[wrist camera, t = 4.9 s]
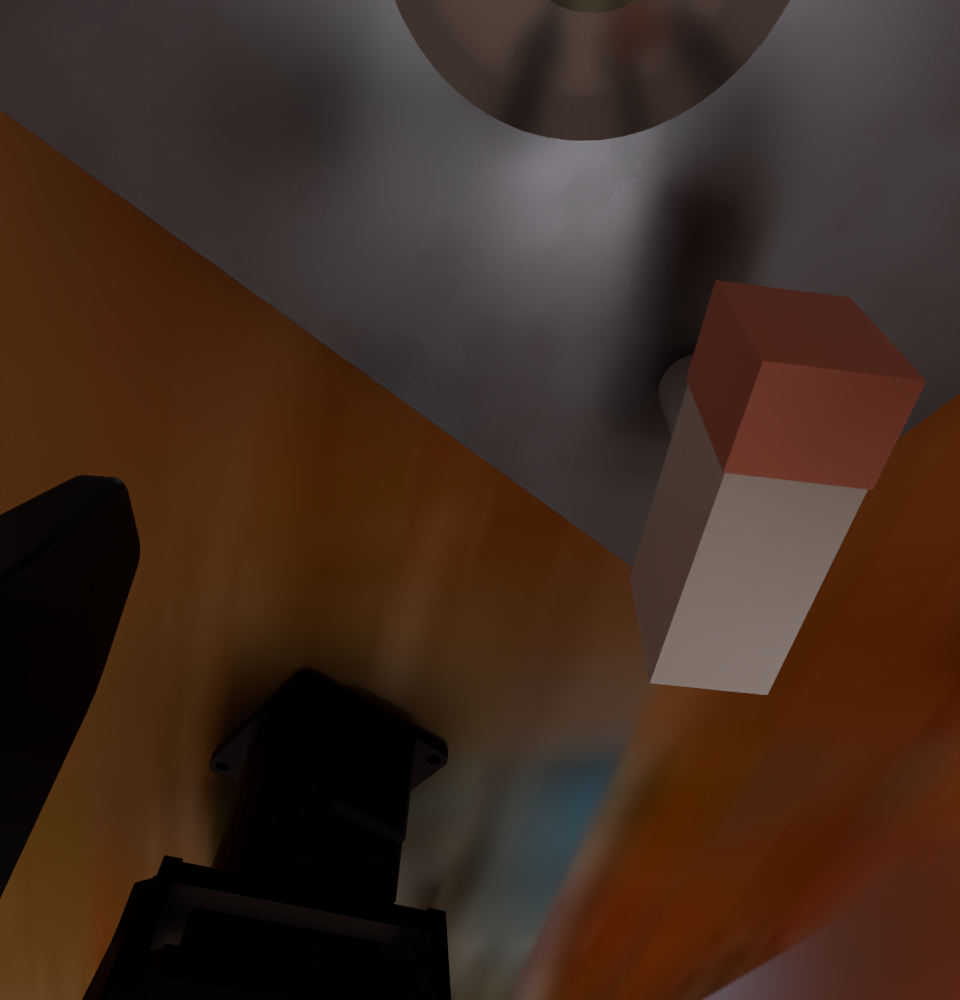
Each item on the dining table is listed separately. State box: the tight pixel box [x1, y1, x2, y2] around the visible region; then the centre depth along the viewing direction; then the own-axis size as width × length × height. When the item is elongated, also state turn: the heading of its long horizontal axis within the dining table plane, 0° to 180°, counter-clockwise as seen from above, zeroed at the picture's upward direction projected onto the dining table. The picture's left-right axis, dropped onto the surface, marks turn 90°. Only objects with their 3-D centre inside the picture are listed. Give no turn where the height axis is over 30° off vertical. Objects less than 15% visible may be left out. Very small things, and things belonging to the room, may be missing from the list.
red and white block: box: [630, 280, 926, 695], centre depth 17 cm, size 7×2×6 cm, turn 173°
